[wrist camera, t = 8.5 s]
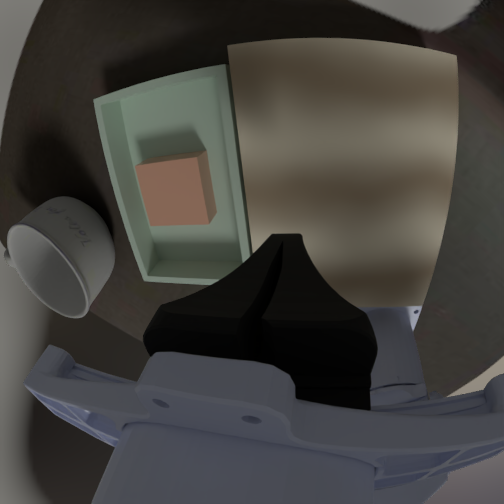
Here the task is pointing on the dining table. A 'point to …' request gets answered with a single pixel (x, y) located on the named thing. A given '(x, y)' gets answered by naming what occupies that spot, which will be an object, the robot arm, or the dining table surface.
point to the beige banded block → (350, 157)
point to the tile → (177, 189)
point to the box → (175, 142)
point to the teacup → (62, 254)
